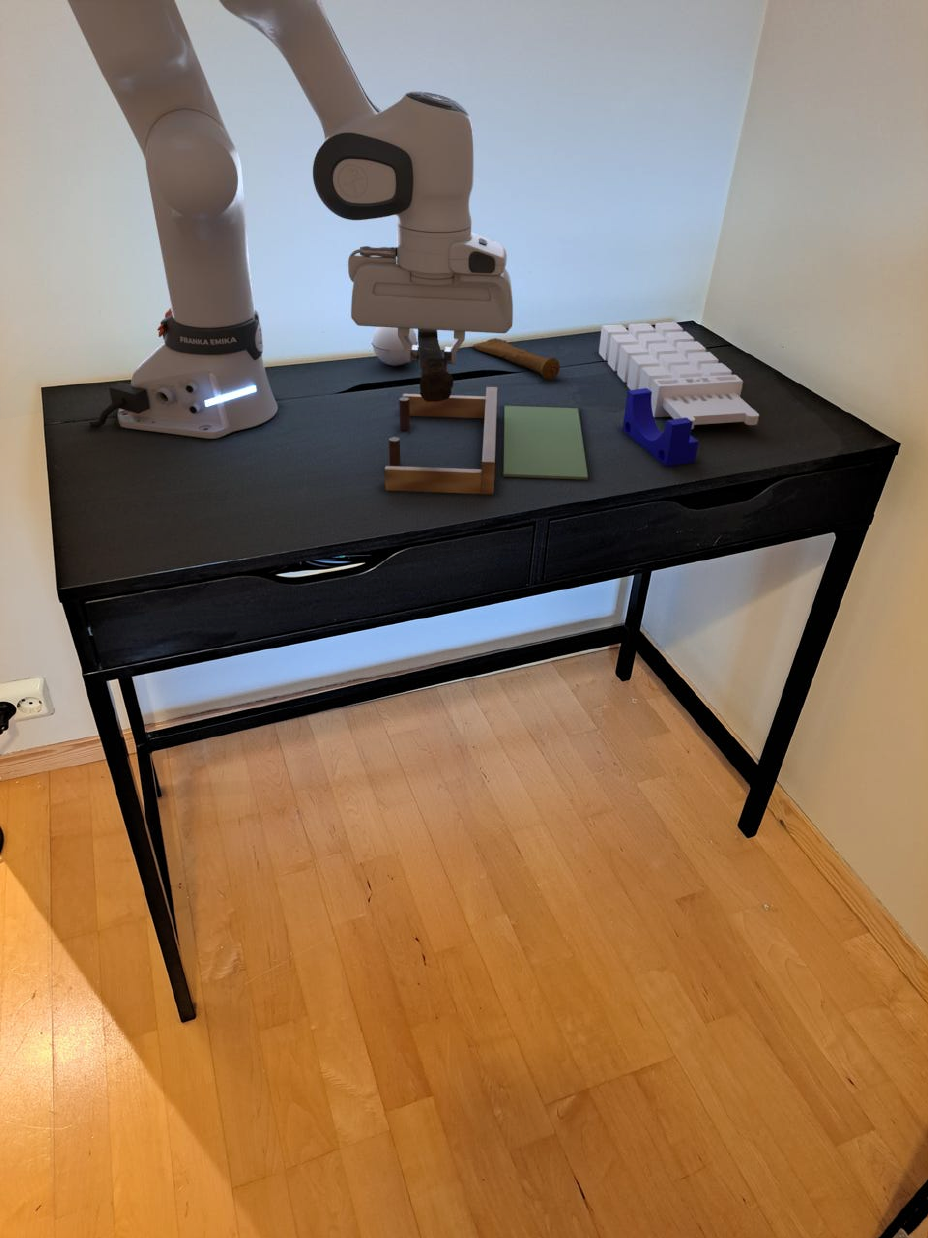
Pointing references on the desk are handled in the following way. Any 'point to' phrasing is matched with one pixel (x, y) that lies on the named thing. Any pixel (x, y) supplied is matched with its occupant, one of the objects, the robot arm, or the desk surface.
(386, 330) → the white seamed ball
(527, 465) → the mat
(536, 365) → the primitive tool
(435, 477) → the tool rack
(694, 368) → the organizer
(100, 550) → the desk surface
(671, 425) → the cable clip
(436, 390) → the hand tool
